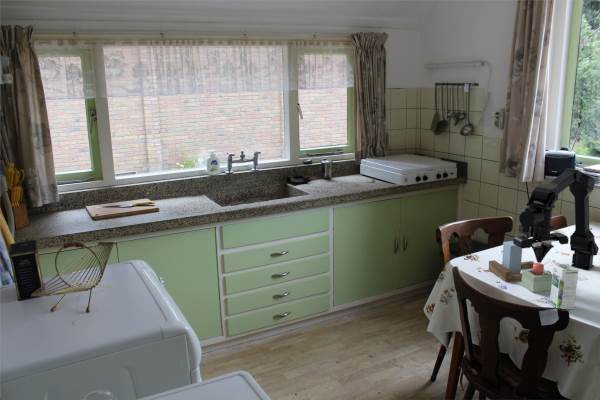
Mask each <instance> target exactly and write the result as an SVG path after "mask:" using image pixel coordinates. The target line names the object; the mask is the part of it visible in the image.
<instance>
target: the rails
mask: <svg viewBox="0 0 600 400" xmlns="http://www.w3.org/2000/svg"><path fill="white" fill-rule="evenodd" d="M534 263H535V262H534V261H532V260H529V261H521V269H527V268H528V269H529V268H533V264H534ZM500 264H501V265H502V263H500ZM546 271H547V272H549V273H551V274H552V271H550V270H548V269H547V270H546ZM514 281H515V282H516V281H522V272H521V273H520V274H512V277H511V281H510V282H514Z"/></svg>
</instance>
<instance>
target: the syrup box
mask: <svg viewBox="0 0 600 400" xmlns="http://www.w3.org/2000/svg"><path fill="white" fill-rule="evenodd" d="M552 274H553V276H552V286H551V291H550V296H549V297H550V298H549V305H551V306H552V307H553V308H555V307H556V308H564V309H571V310H574V309H575V304H576V296H577V295H576V293H577V286H578V276H579V269H578V268H576V267H573V266H571V265H570V263H558V264H553V269H552ZM556 308H555V309H556Z"/></svg>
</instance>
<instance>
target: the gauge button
mask: <svg viewBox="0 0 600 400" xmlns="http://www.w3.org/2000/svg"><path fill="white" fill-rule="evenodd" d="M532 269H533V273H535V274H543V271H544V270H545V264H543V263H542V262H541V263H538V262H534V264H533V267H532Z"/></svg>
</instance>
